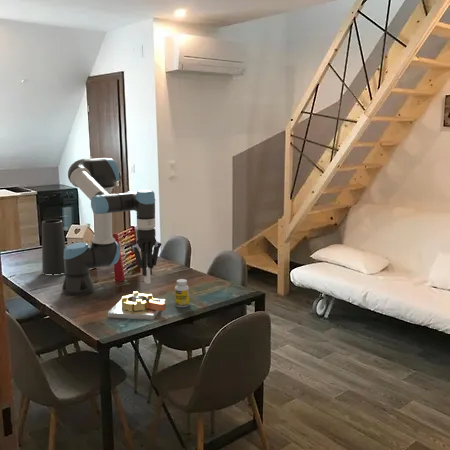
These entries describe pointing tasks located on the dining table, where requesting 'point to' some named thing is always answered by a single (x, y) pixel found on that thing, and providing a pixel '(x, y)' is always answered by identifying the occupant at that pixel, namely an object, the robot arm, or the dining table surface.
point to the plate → (140, 314)
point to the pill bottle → (181, 293)
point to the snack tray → (141, 303)
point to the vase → (53, 247)
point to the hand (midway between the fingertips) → (147, 282)
